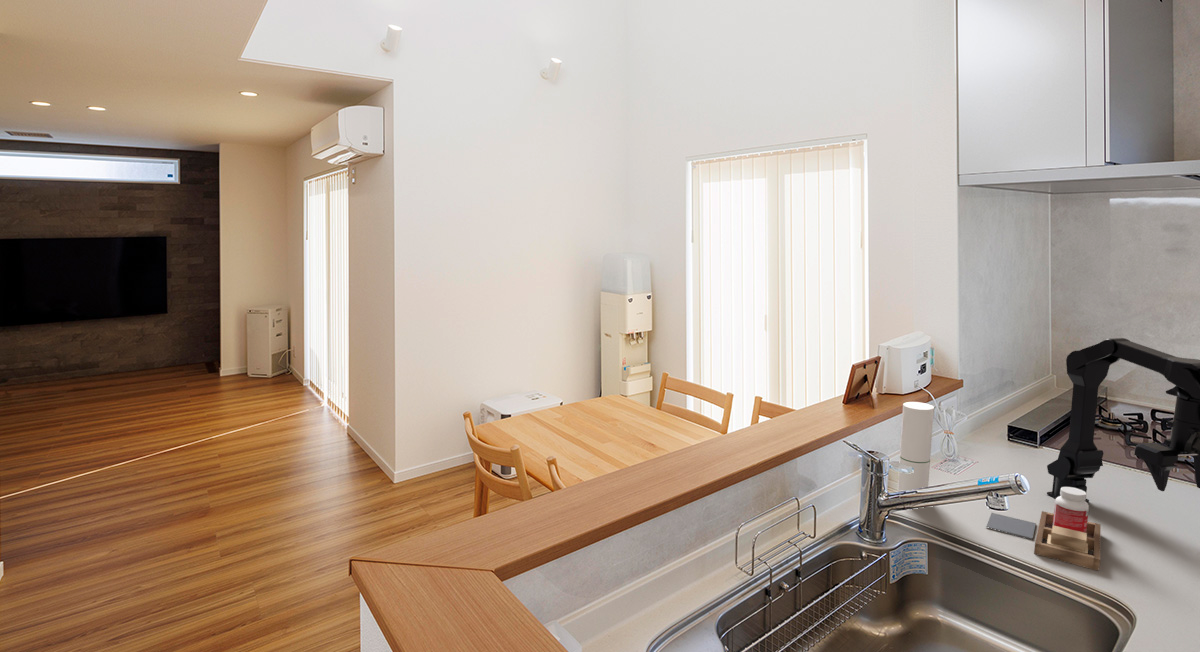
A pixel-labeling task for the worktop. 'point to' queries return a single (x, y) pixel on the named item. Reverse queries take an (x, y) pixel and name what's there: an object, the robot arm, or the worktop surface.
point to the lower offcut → (1066, 547)
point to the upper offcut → (1068, 538)
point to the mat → (1011, 525)
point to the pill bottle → (1071, 509)
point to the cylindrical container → (916, 444)
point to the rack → (1067, 554)
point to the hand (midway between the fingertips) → (1180, 489)
